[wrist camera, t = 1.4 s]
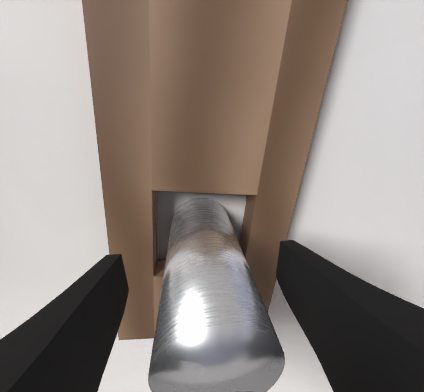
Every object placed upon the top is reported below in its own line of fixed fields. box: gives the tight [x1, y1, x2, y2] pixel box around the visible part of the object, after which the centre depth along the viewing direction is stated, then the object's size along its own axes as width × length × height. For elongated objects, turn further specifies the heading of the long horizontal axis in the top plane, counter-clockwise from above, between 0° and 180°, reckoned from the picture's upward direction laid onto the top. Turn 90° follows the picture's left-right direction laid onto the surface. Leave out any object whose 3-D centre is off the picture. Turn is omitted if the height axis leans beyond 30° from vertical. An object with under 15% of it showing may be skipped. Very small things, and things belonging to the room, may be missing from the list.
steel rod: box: [148, 198, 285, 392], centre depth 9 cm, size 4×4×8 cm
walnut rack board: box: [82, 0, 348, 340], centre depth 9 cm, size 10×32×2 cm, turn 175°
